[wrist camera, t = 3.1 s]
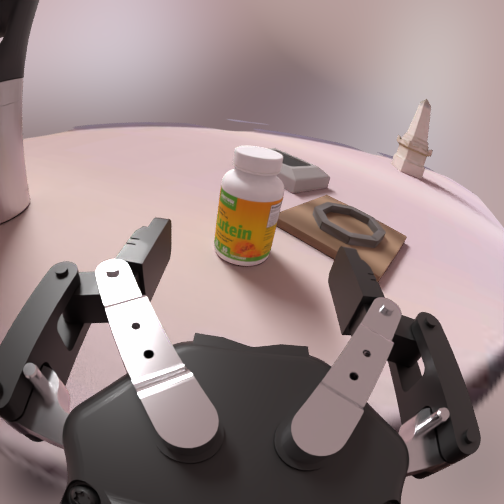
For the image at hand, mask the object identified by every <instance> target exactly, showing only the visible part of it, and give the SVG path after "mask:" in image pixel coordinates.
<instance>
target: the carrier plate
mask: <svg viewBox="0 0 504 504" xmlns="http://www.w3.org/2000/svg"><path fill="white" fill-rule="evenodd" d="M276 226H277V227H279V228H281V229H283V230H285V231H286V232H288V233H290V234H292V235H293V236H295V237H297V238H299V239H300V240H302V241H304V242H306V243H307V244H309V245H311V246H312V247H314V248H316V249H318V250H319V251H321V252H323V253H324V254H326V255H328V256H330V257H331V258H333V259H335V257H336V254H337V252H338V249H339V248H340V247H341V246H343V247H349V248H355V249H356V250H357V252H358V254H359V256H360V258H361V260H364V261H365V262H366V263H367V264H368V265H369V266H370V267H371V269H372V271H373V273H374V275H375V277H376V281H377V282H378V281H379V280H380V278H381V277H382V276H383V274H384V273H385V271H386V270H387V268H388V267H389V265H390V264H391V262H392V261H393V259H394V258H395V256H396V255H397V253H398V252H399V250H400V248H401V247H402V245H403V244H404V242H405V240H406V238H407V237H406V236H405V235H403V234H401V233H399V232H398V231H396V230H394V229H392V228H390V227H389V226H387V225H385V224H383V223H381V222H379V221H378V220H376V219H375V218H373V217H371V216H369V215H368V214H366V213H364V212H362V211H360V210H358V209H356V208H354V207H351V206H348V205H346V204H344V203H342V202H340V201H338V200H336V199H334V198H332V197H330V196H328V195H325V196H323V197H320V198H317V199H314V200H312V201H309V202H306V203H303V204H301V205H298V206H295V207H293V208H290V209H287V210H285V211H282V212H280V213H279V217H278V221H277V225H276Z"/></svg>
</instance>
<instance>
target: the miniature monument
mask: <svg viewBox="0 0 504 504" xmlns="http://www.w3.org/2000/svg"><path fill="white" fill-rule="evenodd" d="M430 111H431V106H430V104H429V102H428V100H427V99H426V100H424V101H422V102H420V104H419V106H418V109H417V111H416V113H415V116H414V118H413V120H412V123H411V125H410V127H409V129H408V131H407V133H405V134H404V136H403V137H402V138H401V137H400V136H399V135H398V138H397V141H398V143H399V147H398V151H397V153H396V154H394V157H393V160H392V163H391V164H392V165H393V166H394V167H395V168H397V169H398V170H399V171H400V172H403V173H406V174H409V175H411V176H414V177H416V178H419V179H422V176H423V173H424V170H425V168H424V163H425V160H426V157H427V156H431V154H432V150H428V142H427V138H428V130H429V122H430Z"/></svg>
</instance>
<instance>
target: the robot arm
mask: <svg viewBox="0 0 504 504" xmlns="http://www.w3.org/2000/svg"><path fill="white" fill-rule="evenodd" d="M38 2H39V0H0V38H1V37H4V38H3V40H2V41H1V43H0V223H2V222H5V221H7V220H9V219H11V218H13V217H15V216H16V215H18V214H19V213H21V212H22V211H23V210H24V209H25V208H26V207H27V206H28V205H29V203H30V195H29V188H28V183H27V176H26V168H25V158H24V147H23V130H22V92H23V77H24V65H25V58H26V51H27V45H28V39H29V34H30V30H31V26H32V22H33V19H34V16H35V12H36V9H37V5H38ZM170 255H171V220H170V219H163V218H154V219H153V221H152V222H151V223H150V225H149V226H148V227H145V226H143V227H141V228H139V229H138V230H136V231H135V232H134V233H133V235H132V236H131V237H130V239H129V240H128V241H127V244H125V245H124V247H123V248H122V250H121V251H120V252H119V254H118V255H117V257H116V258H115V259H114V260H108V261H105V262H103V263H101V264H100V265H99V266H98V267H97V269H96V271H95V272H78V268H77V265H76V264H74V263H73V262H68V261H66V262H60V263H58V264H56V265H54V266H53V267H51V268H50V270H49V271H48V272H47V274H46V275H45V276H44V278H43V279H42V280H41V282H40V283H39V285H38V286H37V287H36V289H35V290H34V292H33V293H32V295H31V296H30V297H29V299H28V300H27V302H26V303H25V305H24V307H23V308H22V310H21V311H20V313H19V314H18V316H17V318H16V319H15V321H14V322H13V324H12V326H11V327H10V329H9V331H8V333H7V334H6V336H5V338H4V340H3V341H2V343H1V345H0V418H1V419H2V420H4V421H5V422H6V423H7V424H9V425H10V426H11V427H13V428H14V429H15V430H16V431H18V432H19V433H21V434H23V435H25V436H26V437H28V438H29V439H30V440H32V441H35V442H41V441H46V442H48V443H50V444H53V445H55V446H57V447H59V448H62V449H64V451H65V456H66V462H67V471H68V480H67V487H66V490H65V493H64V495H63V497H62V500H61V502H60V504H401V493H402V488H403V484H404V481H405V478H406V477H407V476H411V475H412V476H413V477H415V478H417V479H422V478H425V477H427V476H429V475H431V474H434V473H436V472H438V471H440V470H443V469H444V468H447V467H449V466H450V465H452V464H454V463H456V462H458V461H460V460H462V459H464V458H466V457H467V456H469V455H471V454H473V453H474V452H475V451H476V450H477V449H478V447H479V445H480V439H481V437H480V431H479V427H478V424H477V420H476V417H475V413H474V410H473V406H472V403H471V400H470V397H469V394H468V391H467V388H466V385H465V382H464V380H463V377H462V374H461V371H460V369H459V366H458V364H457V361H456V359H455V356H454V354H453V351H452V349H451V347H450V344H449V342H448V340H447V337H446V335H445V333H444V331H443V329H442V326H441V324H440V322H439V321H438V320H437V319H436V318H435V317H434V316H433V315H431V314H429V313H426V312H421V313H419V314H418V315H417V317H416V318H415V319H412V318H409V317H406V316H403V315H402V313H401V310H400V308H399V306H398V305H397V304H396V303H395V302H393V301H392V300H390V299H387V298H385V297H384V294H383V292H382V290H381V288H380V286H379V284H378V282H377V281H376V277H375V275H374V273H373V271H372V269H371V267H370V266H369V265H368V264H367V263H366V262H365V261H364V260H361V258H360V256H359V254H358V252H357V250H356V249H355V248H349V247H343V246H341V247H340V248H339V249H338V252H337V254H336V257H335V260H334V262H333V265H332V268H331V270H330V273H329V279H328V283H329V287H330V291H331V295H332V298H333V302H334V306H335V310H336V314H337V318H338V321H339V325H340V330H341V334H342V335H351V339H350V341H349V342H348V344H347V345H346V347H345V348H344V350H343V351H342V353H341V354H340V356H339V357H338V359H337V360H336V362H335V363H334V364H333V366H332V367H331V366H330V365H328V364H327V363H325V362H324V361H322V360H320V359H318V358H316V357H313V356H310V355H309V352H308V347H307V346H294V345H283V344H280V345H271V346H262V347H250V346H247V345H244V344H241V343H238V342H235V341H232V340H229V339H226V338H224V337H217V336H211V335H205V334H198V333H195V336H194V340H193V341H187V342H181V343H177V344H174V345H172V344H171V342H170V340H169V338H168V336H167V335H166V333H165V331H164V329H163V327H162V325H161V323H160V322H159V320H158V318H157V316H156V314H155V312H154V310H153V308H152V306H151V304H150V302H151V300H152V297H153V295H154V293H155V290H156V288H157V286H158V284H159V281H160V279H161V277H162V275H163V273H164V270H165V268H166V266H167V264H168V262H169V259H170ZM91 323H109V325H110V328H111V331H112V334H113V337H114V340H115V343H116V345H117V348H118V351H119V354H120V356H121V359H122V361H123V364H124V367H125V369H126V372H127V374H126V375H124V376H122V377H121V378H119V379H118V380H116V381H115V382H113V383H112V384H110V385H109V386H107V387H106V388H104V389H103V390H101V391H99V392H98V393H96V394H95V395H93V396H92V397H90V398H88V399H87V400H85V401H84V402H82V403H81V404H79V405H78V406H76V407H75V408H74V409H73V410H72V411H71V412H70V409H69V407H70V394H69V391H68V389H67V388H66V387H65V385H66V383H67V380H68V377H69V375H70V372H71V369H72V367H73V364H74V362H75V359H76V357H77V355H78V352H79V350H80V347H81V345H82V343H83V340H84V338H85V336H86V334H87V331H88V329H89V327H90V325H91ZM421 356H422V359H423V362H424V366H425V371H424V374H423V376H422V375H421V372H420V369H419V365H418V362H417V361H418V360H419V359H420V357H421ZM386 361H388V363H389V367H390V371H391V376H392V380H393V384H394V388H395V393H396V398H397V402H398V407H399V412H400V417H401V423H402V426H401V428H400V430H399V434H398V433H397V432H396V431H395V430H394V429H393V428H392V427H391V426H390V425H389V424H388V423H387V422H386V421H385V420H384V419H383V418H382V417H381V416H380V415H379V414H378V413H377V412H376V411H375V410H374V409H373V408H372V407H371V406H370V405H369V404H368V403H367V400H368V398H369V396H370V394H371V393H372V391H373V389H374V387H375V385H376V382H377V380H378V378H379V376H380V374H381V372H382V370H383V368H384V365H385V363H386Z"/></svg>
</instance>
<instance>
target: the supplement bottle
mask: <svg viewBox="0 0 504 504" xmlns="http://www.w3.org/2000/svg"><path fill="white" fill-rule="evenodd" d="M282 162H283V156H282V154H280V153H278V152H276V151H274V150H271V149H267V148H263V147H258V146H238V147H236V148H235V151H234V156H233V166H234V167H235V169H232V170H230V171H228V172H227V173H226V174H225V175H224V177H223V179H222V183H221V190H220V198H219V206H218V214H217V223H216V232H215V240H214V248H215V251H216V253H217V254H218V255H219V256H220V257H221V258H222V259H224V260H225V261H227V262H230V263H233V264H236V265H242V266H252V265H257V264H260V263H262V262H263V261H265V260H266V259H267V258H268V256H269V253H270V250H271V246H272V242H273V238H274V234H275V230H276V225H277V221H278V217H279V213H280V208H281V204H282V200H283V196H284V184H283V182H282V181H281V180H280V179H279V178H278V177H277V176H276V175H277V174H279V173H280V170H281V167H282Z"/></svg>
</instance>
